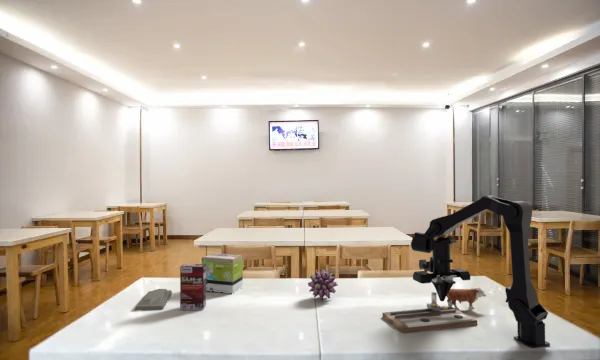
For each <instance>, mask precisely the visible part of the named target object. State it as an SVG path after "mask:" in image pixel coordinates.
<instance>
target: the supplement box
mask: <svg viewBox="0 0 600 360" xmlns="http://www.w3.org/2000/svg"><path fill="white" fill-rule="evenodd" d="M179 268H180V269H179V273H180V275H179V281H180V282H179V283H180V284H179V285H180V286H179V287H180V288H179V289H180V290H179V293H180V294H179V295H180V297H179V299H180V300H179V301H180V306H179V309H180V311H203V310H205V308H206V307H207V291H206V264H202V263H199V264H198V263H195V264H194V263H187V264H185V263H184V264H182V265H181V266H180V267H179Z"/></svg>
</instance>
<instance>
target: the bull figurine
mask: <svg viewBox="0 0 600 360" xmlns="http://www.w3.org/2000/svg"><path fill="white" fill-rule="evenodd" d="M481 297H483V298H484V297H487V293H485V290H484V289H483V288H482V287H481V286H479V287H470V288H463V289H462V288H451V289H450V290H449V292H448V294H447V296H446V299H447V300H446V302H447V307H448V306H451V307H453V308H455V309H457V310H459V311H460V308H459V307H458V306H457V303H456V302H458V303H459V304H462V303H464V302H465V303H466V302H467V303H468V310H469V311H473V310H474V309H475V307H474V306H473V304H474V303H475V302H477V300H479V298H481Z"/></svg>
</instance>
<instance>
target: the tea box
mask: <svg viewBox="0 0 600 360" xmlns="http://www.w3.org/2000/svg"><path fill="white" fill-rule="evenodd" d="M243 261H244V260H243V254H233V253H232V254H231V253H216V252H215V253H214V252H213V253H210V254H208V255H205V256H202V257H201V264H206V292H212V291H214V293H220V292H223V293H222V294H228V293H233V294H235V293H236V292H238V291H239V290H238V289H239V288H241V287H242V286H244V285H243V283H244V282H243V280H244V278H243V277H244V276H243V274H244V272H243V271H244V270H243V268H244V267H243V265H244V264H243ZM242 288H243V287H242ZM242 288H241V289H242ZM237 290H238V291H237ZM235 291H236V292H235ZM234 292H235V293H234Z"/></svg>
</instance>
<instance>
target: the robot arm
mask: <svg viewBox="0 0 600 360" xmlns="http://www.w3.org/2000/svg"><path fill="white" fill-rule="evenodd" d="M487 211H490V212H493V213H494V214H497V215H499V216H502V219H503V223H504V225H505V227H506V229H507V231H508V233H509V242H510V243H509V245H510V260H511V273H512V274H511V275H512V283H511V285H510V286H508V287H505V296H506V298H505V303H507V305H508V308H509V310H510V311H511V312H512V314H513V316H514V318H515V321H516V322H517V335H515V336H513V339H514V340H516V341H518V342H519V343H522V344H524V345H526V346H527V347H529V348H539V347H546V346H551V343H550V342H548V341H546V323H545V322H544V321H543V320H546V319H547V317H548V315H549V311H547V309H546V308H545V307H543V305H542V304H541V303H540V302H539V298H538V293H537V290H536V289H535V286H534V284H533V282H532V279H531V278H532V277H531V276H532V275H531V265H530V263H531V262H530V249H529V248H530V247H529V228H530V226H531V223H532V217H533V209H532V206H531V205H530V204H529V203H528V202H526V201H522V200H520V201H519V200H518V201H513V200H509V199H504V198H500V197H498V196H497V197H496V196H495V195H484V196H482V197H481V198H479V199H477V200H475V201H473V202H472V203H470V204H468V205H466V206H465V207H462V208H460V209H459V210H457V211H455V212H453V213H450V214H448V215H444V216H440V217H437V218H434V219H431V220H430V222H429V226H428V228H427V229H426V230H425V232H424V233H422V232H418V231H417V232H414V235H413V237H412V239H411V241H410V248H411V249H412V251H414V252H419V253H427V254H431V253H432V256H430V258H429V260H428V261H427V260H426V259H420V260H418V267H419V270H420V271H419V270H417V271H414V272H413V274H412V280H413V281H415V282H418V283H419V284H424V285H425V284H431V283H432V285H433V286H434V288H435V291H436V295H437V296H438V298H439V299H438V300H439V301H440V302H444V301H445V299H447V294H448V292H449V290H450V289H452V287H453V286H454V285H455V284H456V283H457V282H456V281H455V280H454V278H460V280H462V281H471V273H470V271H468V270H465V269H464V268H460V267H459V268H451V264H452V263H453V262H454V260H453V258H451V245H452V244H456V243H457V242H458V241H457V240H456V239H455V238H453V236H452V235H450V234H452V232H454V231H455V230H456V229H458V227H459V226H460V225H462V224H464V223H465V222H467V221H469V220H472V219H474V218H475V217H478V216H479V215H481V214H483V213H485V212H487Z"/></svg>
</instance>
